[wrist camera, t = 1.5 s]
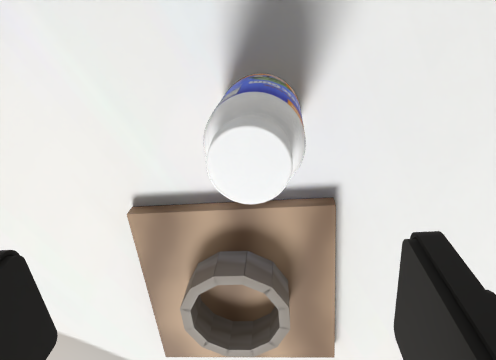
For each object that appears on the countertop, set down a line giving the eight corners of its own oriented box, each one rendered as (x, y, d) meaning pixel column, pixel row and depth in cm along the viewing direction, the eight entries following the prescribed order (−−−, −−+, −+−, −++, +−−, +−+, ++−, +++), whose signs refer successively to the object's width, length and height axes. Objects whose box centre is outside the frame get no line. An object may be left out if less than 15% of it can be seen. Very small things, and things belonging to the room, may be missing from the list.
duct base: (333, 197, 27) (342, 227, 23) (332, 346, 34) (339, 388, 30) (132, 206, 29) (110, 236, 25) (169, 346, 36) (156, 386, 32)
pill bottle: (316, 104, 24) (337, 156, 16) (268, 162, 26) (262, 237, 18) (251, 54, 23) (235, 80, 15) (207, 119, 25) (169, 176, 17)
